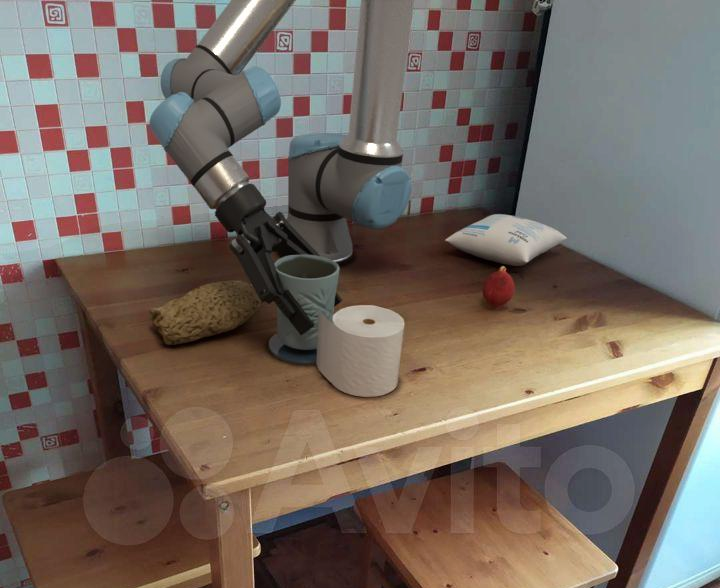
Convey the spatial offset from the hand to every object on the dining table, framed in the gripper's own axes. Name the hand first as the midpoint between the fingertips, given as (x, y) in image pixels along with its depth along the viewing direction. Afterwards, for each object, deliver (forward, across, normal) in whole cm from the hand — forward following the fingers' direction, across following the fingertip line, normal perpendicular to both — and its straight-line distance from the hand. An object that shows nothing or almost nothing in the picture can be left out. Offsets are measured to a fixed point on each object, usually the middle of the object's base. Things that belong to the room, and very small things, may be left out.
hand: (322, 317), depth 119 cm
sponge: (-9, +1, -18) cm, 21 cm away
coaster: (+2, 0, -6) cm, 7 cm away
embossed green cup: (+1, 0, -5) cm, 5 cm away
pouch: (+16, -60, +7) cm, 62 cm away
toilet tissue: (+11, +5, +2) cm, 12 cm away
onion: (+19, -32, +10) cm, 39 cm away
